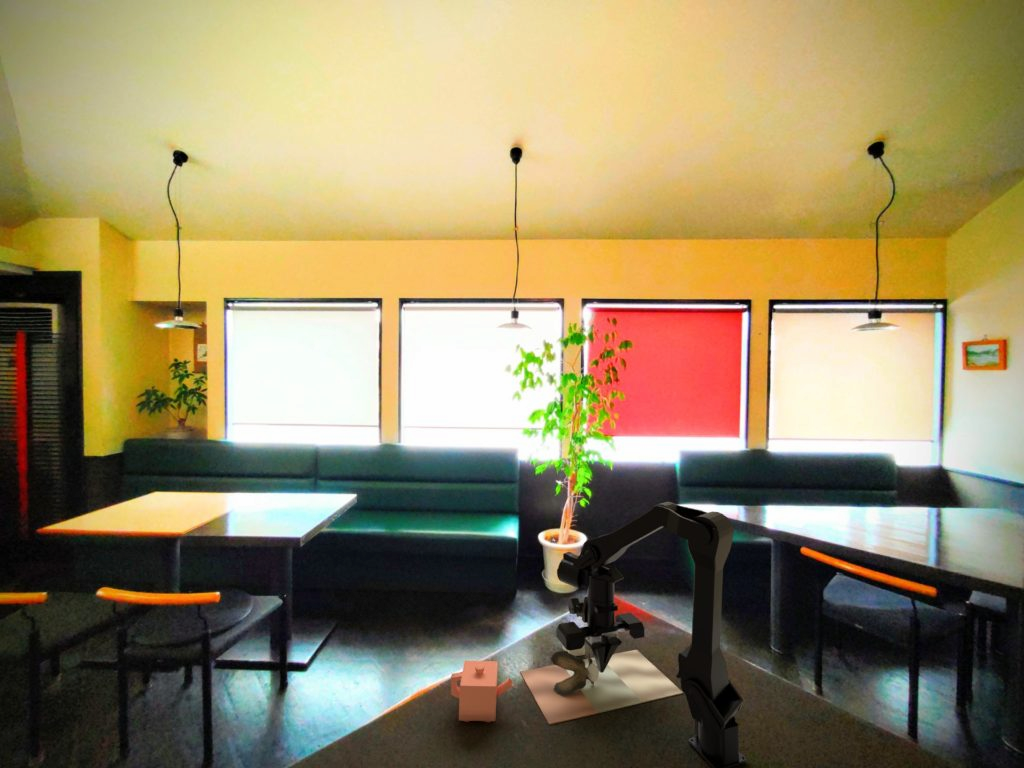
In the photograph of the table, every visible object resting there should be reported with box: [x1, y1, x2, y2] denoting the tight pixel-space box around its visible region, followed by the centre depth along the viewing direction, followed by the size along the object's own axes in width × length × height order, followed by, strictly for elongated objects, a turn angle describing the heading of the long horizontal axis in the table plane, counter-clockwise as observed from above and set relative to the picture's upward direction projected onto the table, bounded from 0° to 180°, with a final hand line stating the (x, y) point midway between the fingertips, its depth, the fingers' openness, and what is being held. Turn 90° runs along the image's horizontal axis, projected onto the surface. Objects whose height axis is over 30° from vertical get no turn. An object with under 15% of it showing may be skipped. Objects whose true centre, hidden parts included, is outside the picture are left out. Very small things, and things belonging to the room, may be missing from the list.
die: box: [561, 643, 586, 657], centre depth 100 cm, size 4×4×4 cm
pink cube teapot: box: [450, 660, 514, 723], centre depth 79 cm, size 8×12×8 cm, turn 90°
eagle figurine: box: [549, 650, 599, 696], centre depth 87 cm, size 8×7×9 cm
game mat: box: [519, 649, 684, 726], centre depth 88 cm, size 16×30×1 cm, turn 108°
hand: (600, 671), depth 88 cm, fingers closed
